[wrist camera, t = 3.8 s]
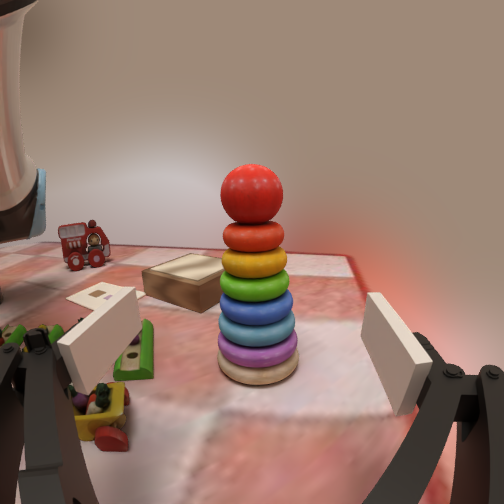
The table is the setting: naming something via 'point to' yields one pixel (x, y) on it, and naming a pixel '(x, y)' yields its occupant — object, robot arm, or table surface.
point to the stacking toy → (255, 282)
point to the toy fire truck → (83, 245)
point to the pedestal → (186, 281)
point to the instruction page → (97, 295)
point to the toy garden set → (102, 387)
